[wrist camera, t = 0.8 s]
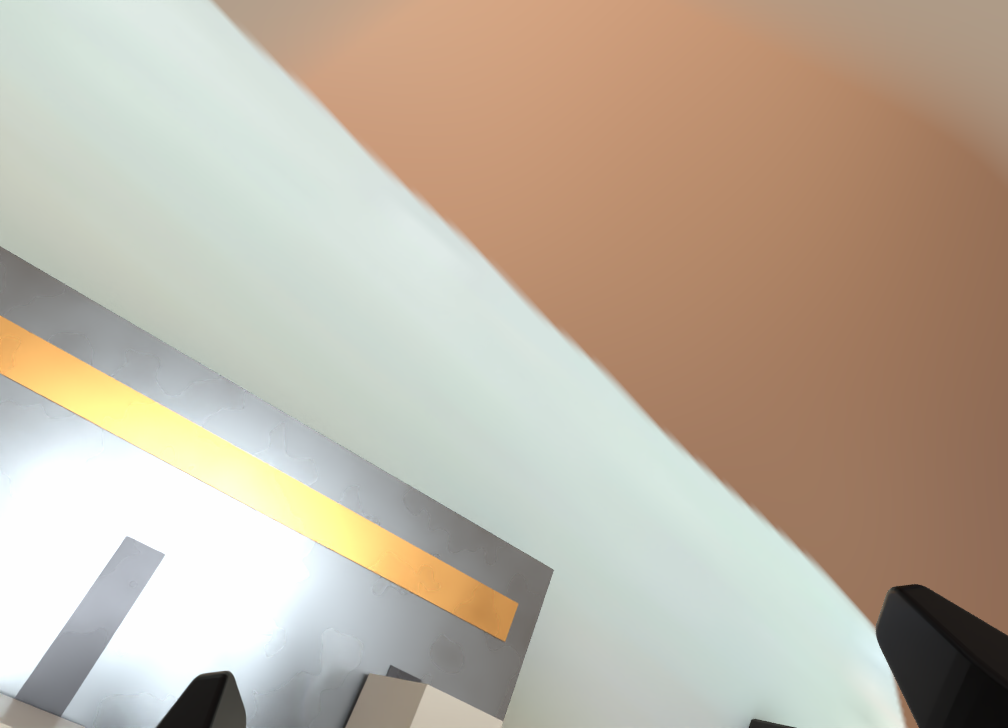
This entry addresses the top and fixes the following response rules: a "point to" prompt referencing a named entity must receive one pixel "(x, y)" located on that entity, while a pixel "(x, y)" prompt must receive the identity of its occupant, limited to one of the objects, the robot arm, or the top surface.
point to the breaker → (413, 707)
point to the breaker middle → (28, 716)
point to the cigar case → (766, 724)
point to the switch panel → (218, 541)
